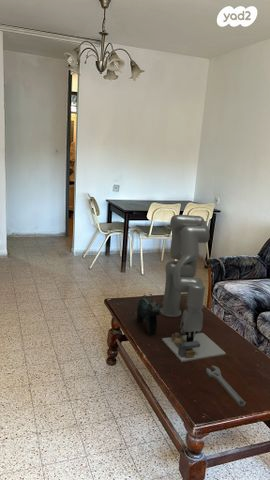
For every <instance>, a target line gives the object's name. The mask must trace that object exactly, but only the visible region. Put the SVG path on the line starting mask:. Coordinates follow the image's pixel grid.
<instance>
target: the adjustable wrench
mask: <svg viewBox="0 0 270 480" xmlns="http://www.w3.org/2000/svg"><path fill="white" fill-rule="evenodd" d="M205 370H206V371H205V372H206V374H207V375H208V377H210V378H213V379H215V380H217V382H218V383H219V384H220V385H221V386H222V387H223V388H224V390H225V391H226V392H227V394H229V396H230V397H231V398H232V399H233V401H234V402H235V403H236V404H237V405H238V407H240V408H244V407H245V406H246V401H245V400H243V398H242V397H241V396H240V395H239V394H238V393H237V392H236V391H235V389H233V387H232V386H231V385H230V384H229V383H228V382H227V380H226V379H225V378H224V377H223V376H222V372H221V369H220V368H219V367H218V366H216V365H211V366H210V368H208V367H206V369H205ZM212 370H213V371H212Z"/></svg>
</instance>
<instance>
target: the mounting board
mask: <svg viewBox="0 0 270 480" xmlns="http://www.w3.org/2000/svg"><path fill="white" fill-rule="evenodd" d="M181 336H182V337H183V338H184V340H185V341H186V338H187V335H186V334H183V335H181ZM171 338H172V336H171V337H162V338H161V341H162V342H163V343H164V344H165V345H166V346H167V347H168V348H169V350H171V352H172V353H173V354H174V355H175V356H176V358H178V360H179V361H180V362H181V363H185V362H190V361H196V360H202V359H208V358H209V359H210V358H213V357H219V356H224V355H226V352H225V351H224V350H223V349H222V348H221V347H220V346H219V345H218V344H216V343H215V342H214V341H213V340H212V339H211V338H210V337H208V336H207V335H206V334H205V333H204V332H197V334H196V335H195V337H194V339H193V341H192V342H187V341H186V342H185V343H179V348H178V346H177V345H176V344H175V342H174V341H173V340H172V339H171ZM190 348H192V349H193V350H194V351H195V355H194V357H186V356H185V353H186V349H190Z"/></svg>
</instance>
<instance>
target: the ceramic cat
mask: <svg viewBox="0 0 270 480" xmlns="http://www.w3.org/2000/svg"><path fill="white" fill-rule="evenodd" d="M149 296H150V297H153V295H152V293H150V294H149ZM137 304H138V305H137V309H136V311H137V313H136V320H137V322H138V323H143V322H144V321H145V322H146V327H147V329H146V333H147V334H148V335H149V336H156V334H157V328H158V327H157V325H158V324H157V323H158V321H157V316H160V314H161V313H160V309H161V306H160V304H159V302H156V300H152V299H149V297H148V296H147V295H146V294H143V296H142V297H141V298H140V299H139V301H138V303H137Z"/></svg>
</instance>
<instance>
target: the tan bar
mask: <svg viewBox="0 0 270 480" xmlns="http://www.w3.org/2000/svg"><path fill="white" fill-rule="evenodd" d="M182 336H183V335H181V332H174V333H172V334H171V337H172V338H171V339H172V340H173V341H174V342H175V344H176V345H177V346H178V348H179V343H185V342H186V341H185V340H184V338H183V337H182ZM194 355H195V351H194V350H193V349H192V348H190V349H186V353H185V356H186V357H194Z"/></svg>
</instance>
